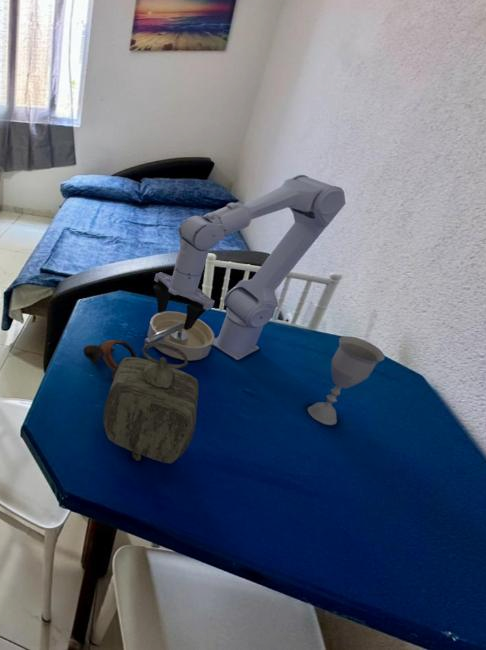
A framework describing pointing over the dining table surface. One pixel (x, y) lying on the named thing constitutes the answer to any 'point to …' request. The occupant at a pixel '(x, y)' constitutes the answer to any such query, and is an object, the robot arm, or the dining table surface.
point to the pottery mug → (106, 353)
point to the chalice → (347, 373)
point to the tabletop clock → (152, 407)
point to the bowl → (198, 334)
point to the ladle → (174, 334)
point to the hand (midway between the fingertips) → (174, 319)
